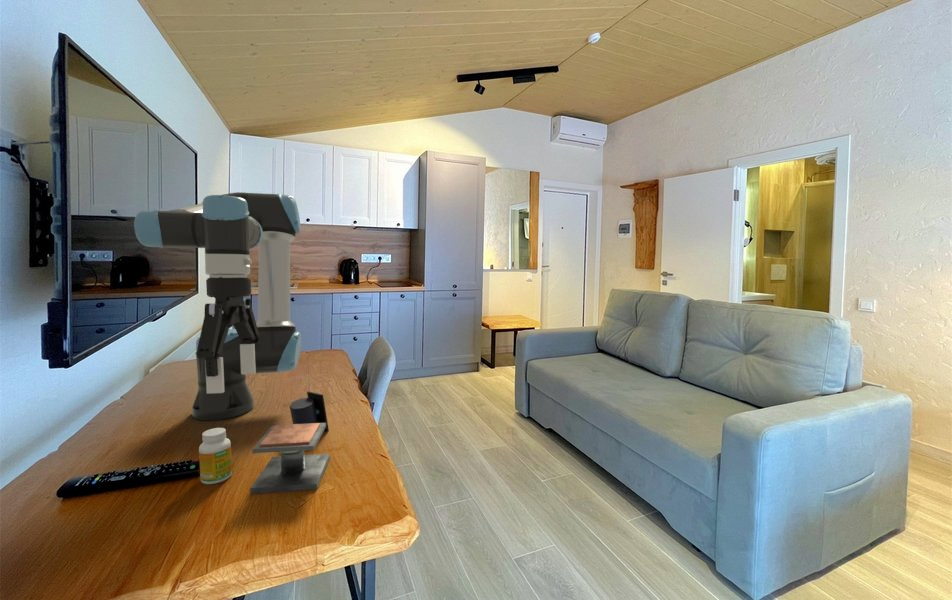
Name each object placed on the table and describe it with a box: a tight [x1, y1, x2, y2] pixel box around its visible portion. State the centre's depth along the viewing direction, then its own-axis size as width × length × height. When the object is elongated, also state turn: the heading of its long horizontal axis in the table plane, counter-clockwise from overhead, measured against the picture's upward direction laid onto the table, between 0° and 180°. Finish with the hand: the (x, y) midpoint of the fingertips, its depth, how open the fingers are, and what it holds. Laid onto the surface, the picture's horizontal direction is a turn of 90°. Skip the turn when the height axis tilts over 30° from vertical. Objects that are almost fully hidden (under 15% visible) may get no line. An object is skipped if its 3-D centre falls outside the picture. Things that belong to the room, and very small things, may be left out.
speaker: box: [289, 390, 330, 432], centre depth 102 cm, size 8×6×10 cm
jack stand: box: [249, 423, 331, 495], centre depth 82 cm, size 12×12×9 cm
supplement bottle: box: [198, 427, 233, 485], centre depth 81 cm, size 5×5×10 cm
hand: (233, 382), depth 81 cm, fingers open, 13 cm apart
